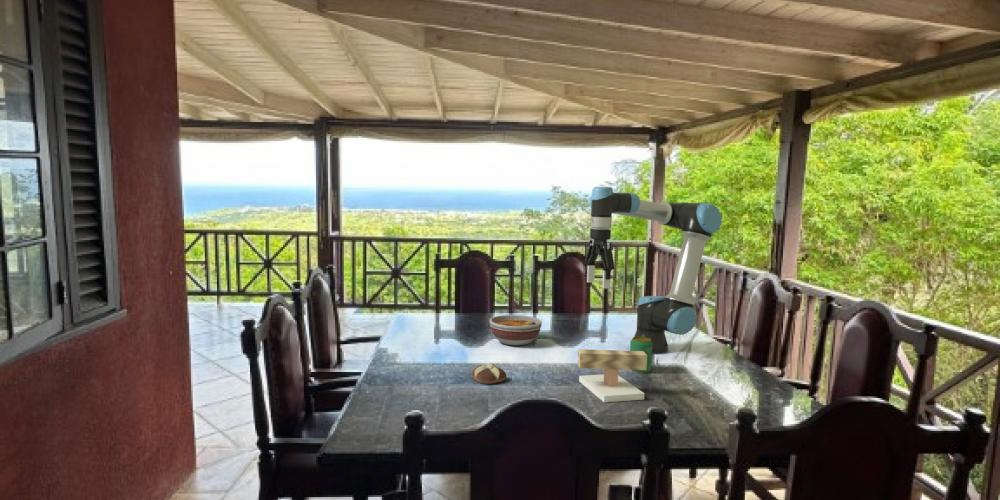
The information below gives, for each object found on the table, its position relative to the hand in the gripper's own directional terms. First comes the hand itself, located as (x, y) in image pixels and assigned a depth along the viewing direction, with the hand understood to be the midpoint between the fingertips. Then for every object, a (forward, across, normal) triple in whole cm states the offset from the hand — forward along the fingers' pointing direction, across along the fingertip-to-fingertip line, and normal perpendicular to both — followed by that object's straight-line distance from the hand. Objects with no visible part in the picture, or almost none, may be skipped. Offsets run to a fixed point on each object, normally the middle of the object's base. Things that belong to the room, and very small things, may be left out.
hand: (598, 285), depth 205 cm
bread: (+32, +6, -43) cm, 54 cm away
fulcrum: (+32, +24, -5) cm, 40 cm away
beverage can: (+32, +6, +16) cm, 36 cm away
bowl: (+32, -39, -20) cm, 54 cm away
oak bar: (+24, +24, -5) cm, 34 cm away
